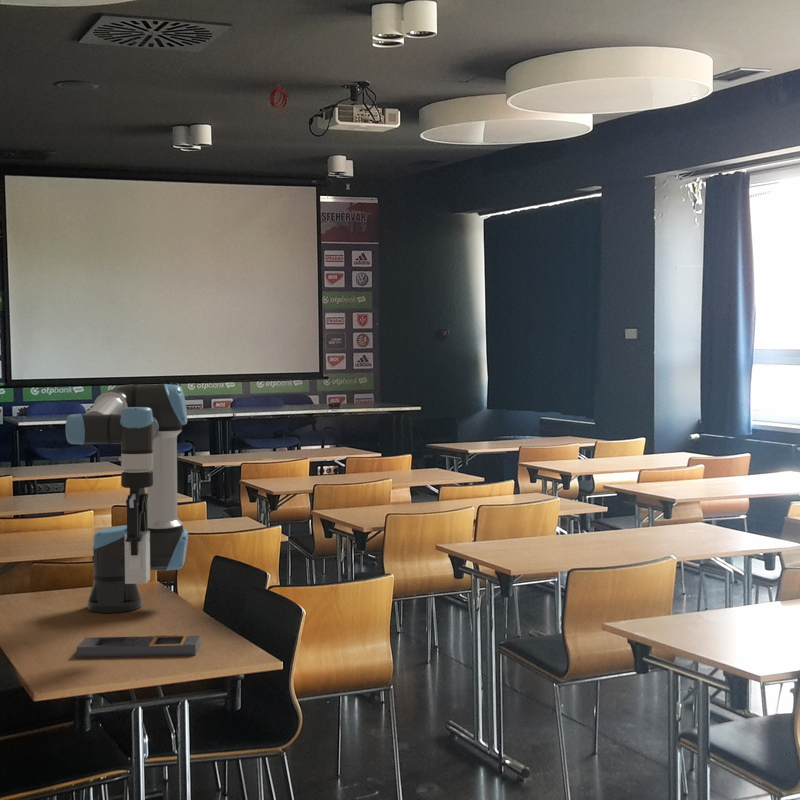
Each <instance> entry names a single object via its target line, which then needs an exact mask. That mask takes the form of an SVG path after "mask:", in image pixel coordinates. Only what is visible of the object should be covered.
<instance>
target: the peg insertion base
mask: <svg viewBox="0 0 800 800" xmlns="http://www.w3.org/2000/svg"><path fill="white" fill-rule="evenodd" d="M200 647H201V635H200V634H199V635H188V634H169V635H168V634H166V635H162V634H161V635H157V634H156V635H152V636H104V637H103V636H101V637H100V636H99V637H96V636H95V637H92V636H91V637H85V638H84V639H83V640H82V641H81V642H80V643H79V644H78V645H77V646H76V659H77V658H78V659H80V658H81V659H82V658H84V659H85V658H87V659H89V658H128V657H131V658H133V657H177V656H178V657H179V656H180V657H181V656H196V655H197V653H198V651H199V648H200Z"/></svg>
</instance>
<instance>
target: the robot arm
mask: <svg viewBox="0 0 800 800" xmlns="http://www.w3.org/2000/svg"><path fill="white" fill-rule="evenodd" d="M65 420H66V421H65V437H66V441H67V443H68V444H70V445H80V446H83V445H103V444H104V445H108V444H109V445H120V447H121V448H120V449H121V450H120V453H121V454H120V455H121V456H119V458H118V461H120V467H121V470H123V471H122V472H121V473H120V485H121V487H122V488H124V489H129V494H127V498H126V500H125V505H126V525H125V524H124V525H117V526H111V527H107V528H103V529H100V530H98V531H97V532H95V534H94V536H93V546H92V550H93V551H92V552H93V584H92V586H91V590H90V593H89V596H88V599H87V610H88V611H89V612H92V613H101V614H105V613H106V614H115V613H125V611H126V612H131V611H135V610H137V609H140V608H141V607H143V606H142V605H143V603H142V602H143V601H142V595H141V592H140V590H139V587H138V584H125V541H126V542H129V569H141V541H140V531H150V572H151V571H166V572H168V571H175V570H181V569H182V568H183V567H184V564H185V562H186V561H185V560H186V555H187V549H188V542H189V530H188V529H186V528H184V523H183V522H182V521H181V520H180V519H179V516H178V445H177V444H178V441H177V440H178V435H179V434H181V432H182V431H183V426H185V425H187V423H188V411H187V405H186V398H185V393H184V390H183V388H182V387H181V386H180V385H178V384H169V383H168V384H167V383H161V384H132V383H131V384H125V385H124V384H123V385H119V386H115V387H113V388H110V389H108V390H106V391H104V392H102V393H101V394H100V395H99V396H97V397H96V399H95V400H94V402H93V404H92V406H91V408H89V409H88V410H87V411H86V412H84V413H75V414H74V413H73V414H69V415H68V416H67V418H66V419H65ZM145 488H146V491H145ZM126 533H127V539H125V534H126Z"/></svg>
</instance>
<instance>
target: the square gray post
mask: <svg viewBox="0 0 800 800" xmlns="http://www.w3.org/2000/svg"><path fill="white" fill-rule="evenodd" d="M125 539H127V533H126V534H125ZM140 541H141V569H129V542H126V541H125V584H137V585H138V584H140V585H141V584H143V585H144V584H145V585H146V584H147V583H148V582H149V581H151V571H150V531H140Z"/></svg>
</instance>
